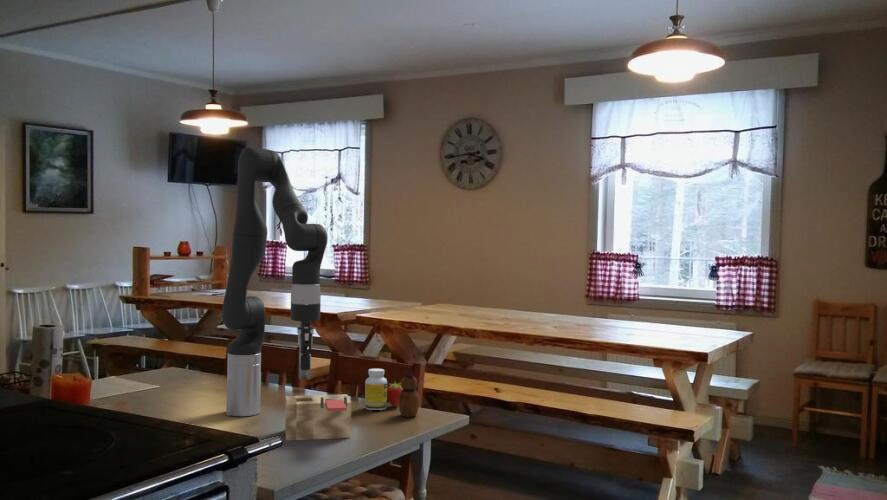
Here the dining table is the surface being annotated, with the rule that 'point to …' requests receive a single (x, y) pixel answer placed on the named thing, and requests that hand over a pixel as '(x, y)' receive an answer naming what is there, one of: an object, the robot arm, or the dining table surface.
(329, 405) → the keeper tab
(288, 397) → the hitch block
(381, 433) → the dining table surface
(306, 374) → the steel pin
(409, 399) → the wooden figurine
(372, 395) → the pill bottle
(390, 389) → the fruit
